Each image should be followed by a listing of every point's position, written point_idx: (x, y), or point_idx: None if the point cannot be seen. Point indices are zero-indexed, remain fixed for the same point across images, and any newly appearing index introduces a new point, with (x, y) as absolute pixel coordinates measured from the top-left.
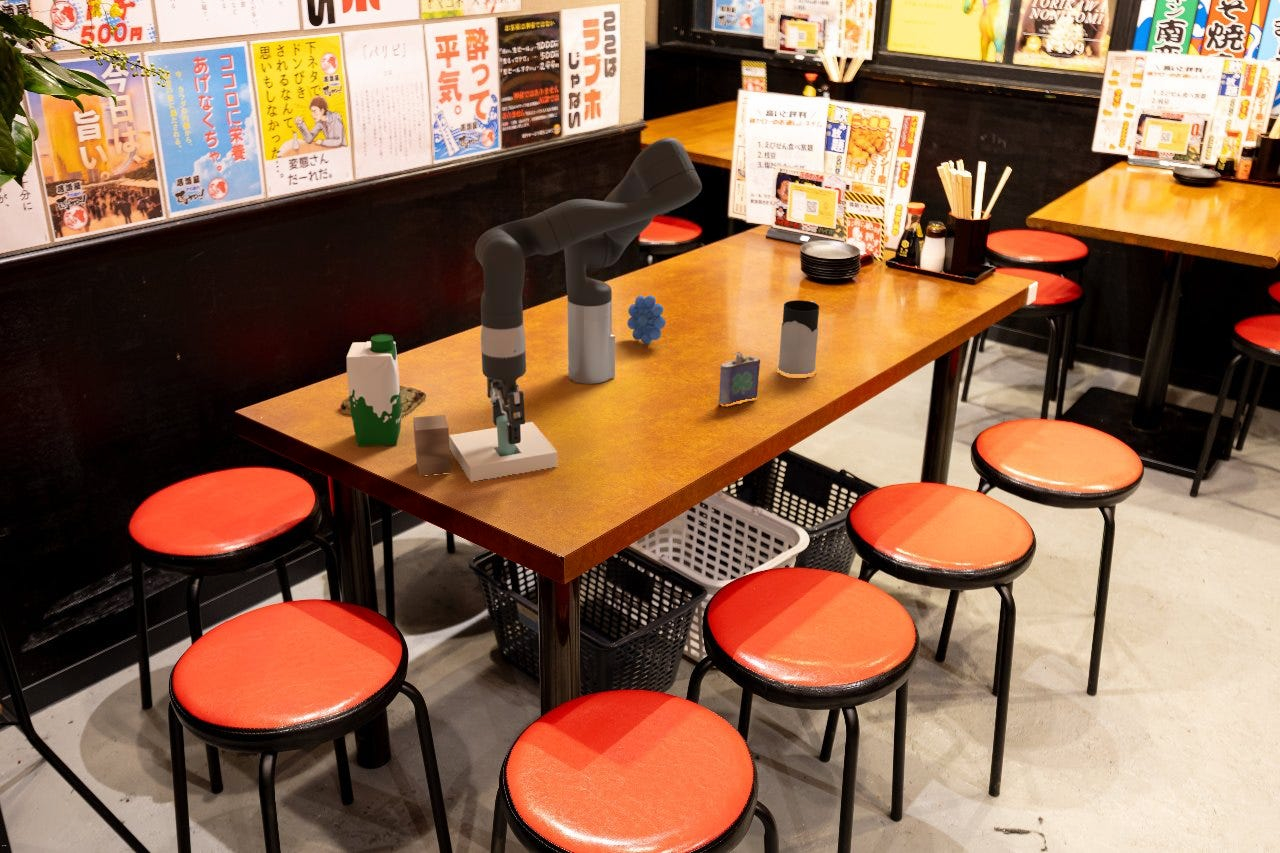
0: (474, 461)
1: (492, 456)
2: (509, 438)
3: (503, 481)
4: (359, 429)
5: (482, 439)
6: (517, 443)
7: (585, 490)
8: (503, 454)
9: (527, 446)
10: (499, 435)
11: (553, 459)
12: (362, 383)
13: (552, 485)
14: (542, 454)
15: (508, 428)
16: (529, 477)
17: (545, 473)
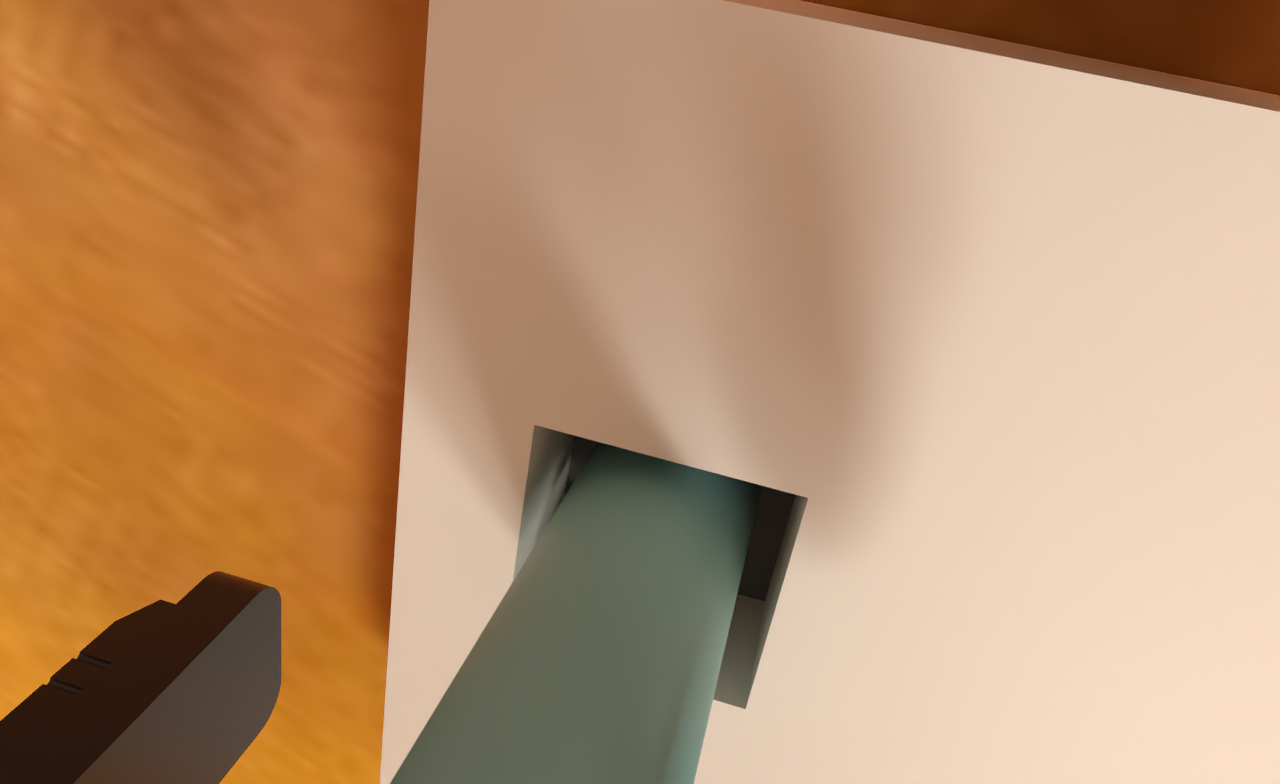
0: (568, 89)
1: (585, 360)
2: (166, 629)
3: (397, 264)
4: None
5: (1126, 523)
6: (737, 732)
7: (46, 650)
8: (582, 487)
9: None
10: (536, 626)
11: None
12: None
13: (180, 538)
14: (386, 743)
15: (19, 752)
16: (372, 485)
17: (384, 613)
